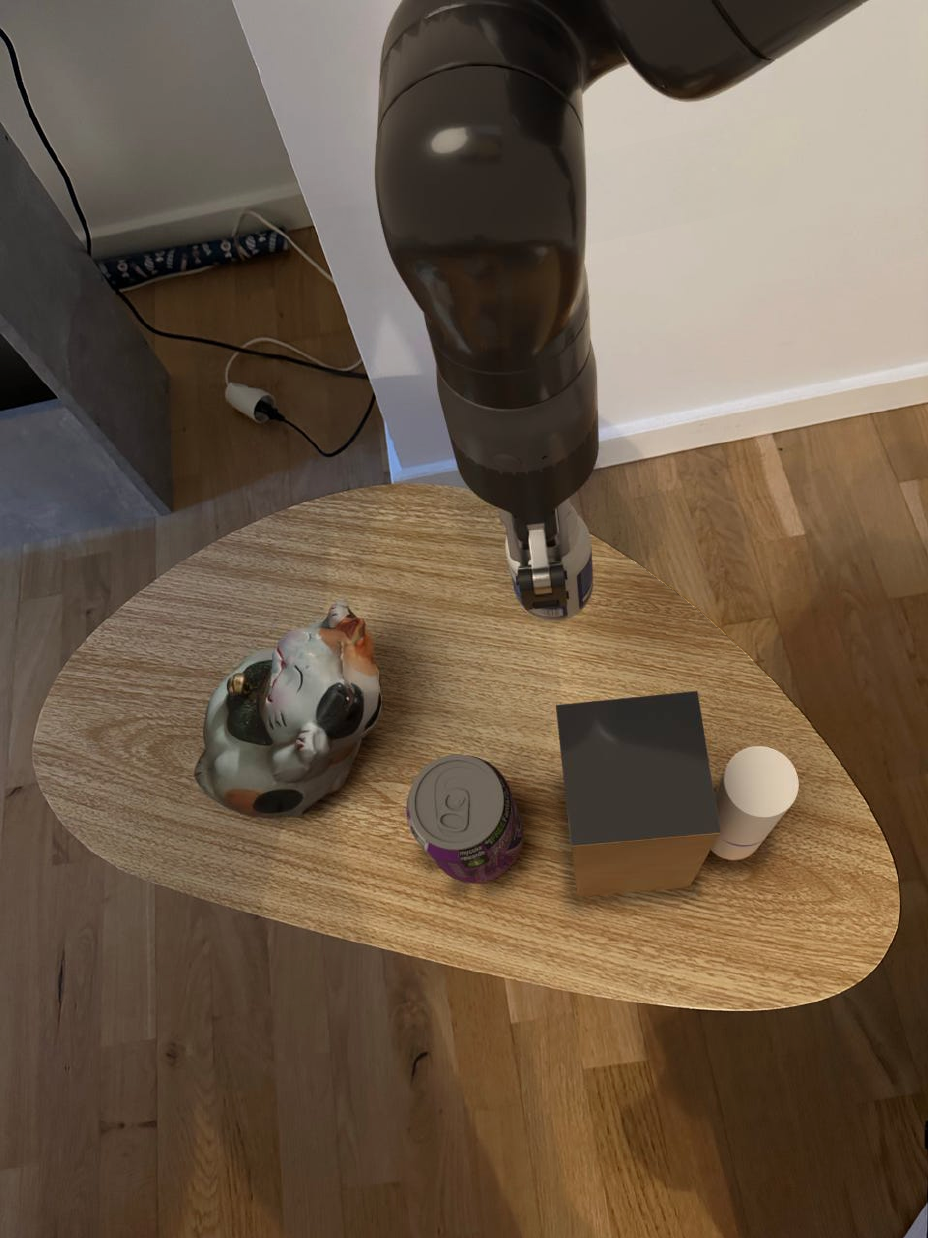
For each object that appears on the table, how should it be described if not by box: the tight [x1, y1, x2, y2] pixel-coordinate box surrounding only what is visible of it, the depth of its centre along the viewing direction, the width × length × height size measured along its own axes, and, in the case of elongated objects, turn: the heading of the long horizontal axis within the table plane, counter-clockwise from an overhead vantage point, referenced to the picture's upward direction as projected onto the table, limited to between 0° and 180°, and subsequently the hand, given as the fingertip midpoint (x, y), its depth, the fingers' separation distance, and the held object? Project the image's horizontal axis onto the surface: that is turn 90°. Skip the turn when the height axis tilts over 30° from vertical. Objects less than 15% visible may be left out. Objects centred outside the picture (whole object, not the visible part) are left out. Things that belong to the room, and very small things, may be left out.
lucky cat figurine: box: [193, 598, 383, 819], centre depth 76 cm, size 15×12×14 cm
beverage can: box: [405, 753, 524, 884], centre depth 72 cm, size 7×7×12 cm
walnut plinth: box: [570, 834, 719, 898], centre depth 67 cm, size 8×8×20 cm
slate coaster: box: [555, 690, 720, 848], centre depth 57 cm, size 8×8×1 cm
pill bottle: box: [504, 503, 594, 623], centre depth 66 cm, size 5×5×10 cm
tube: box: [710, 745, 800, 861], centre depth 68 cm, size 4×4×15 cm
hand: (541, 553), depth 66 cm, fingers closed on pill bottle, 5 cm apart
